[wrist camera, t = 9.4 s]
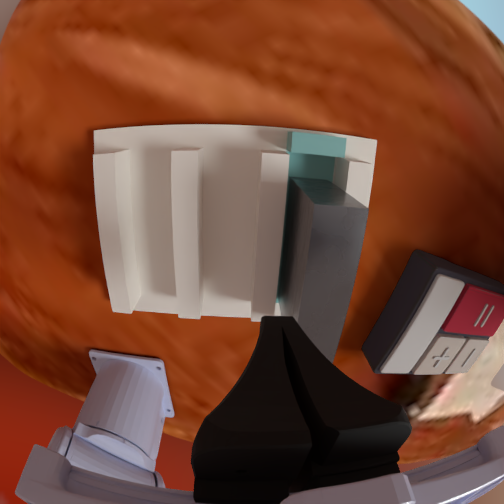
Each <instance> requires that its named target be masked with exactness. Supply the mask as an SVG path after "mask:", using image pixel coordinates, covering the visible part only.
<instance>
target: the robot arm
mask: <svg viewBox="0 0 504 504" xmlns="http://www.w3.org/2000/svg"><path fill="white" fill-rule="evenodd" d="M89 356H90V359H91V361H92V364H93V367H94V369H95V372H96V374H97V376H96V378H95V380H94V382H93V384H92V387H91V389H90V391H89V393H88V395H87V397H86V400H85V402H84V404H83V407H82V409H81V411H80V413H79V416H78V418H77V420H76V423H75V425H74V427H73V428H72V429H71V428H69V427H68V426H64V427H61V428H58V429H57V430H56V432H55V434H54V435H53V437H52V439H51V441H50V443H49V445H48V447H47V448H45V447H42V446H40V445H37V444H35V445H34V446H33V449H32V451H31V453H30V456H29V458H28V460H27V463H26V465H25V468H24V470H23V473H22V475H21V478H20V480H19V483H18V485H17V488H16V491H15V493H16V495H17V496H19V497H20V498H21V499H22V500H24V501H25V502H27V503H28V504H468V503H470V502H471V501H473V500H475V499H476V498H478V497H480V496H482V495H483V494H485V493H487V492H488V491H490V490H491V489H492V488H494V487H495V486H497V484H499V483H500V482H502V481H503V480H504V426H500V427H498V428H496V429H494V430H493V431H490V432H489V433H487V434H486V435H485V436H483V437H482V438H481V439H480V440H479V442H478V443H477V445H475V446H472V447H470V448H468V449H466V450H463V451H461V452H459V453H456V454H454V455H452V456H449V457H447V458H444V459H441V460H439V461H436V462H433V463H430V464H428V465H425V466H422V467H419V468H416V469H413V470H410V471H406V472H403V473H400V470H399V467H398V464H397V462H398V461H399V455H398V452H397V451H398V450H399V448H400V447H401V446H402V445H403V443H404V442H405V441H406V440H407V438H408V437H409V435H410V433H411V430H412V427H411V424H410V422H409V420H408V417H407V415H406V413H405V411H404V410H403V408H402V406H400V405H398V404H396V403H393V402H391V401H389V400H386V399H384V398H382V397H380V396H378V395H376V394H374V393H372V392H371V391H369V390H367V389H366V388H364V387H362V386H361V385H359V384H358V383H356V382H355V381H353V380H352V379H350V378H349V377H348V376H346V375H345V374H344V373H343V372H341V371H340V370H339V369H338V368H337V367H336V366H334V365H333V364H332V363H331V362H330V361H329V360H328V359H327V358H326V357H325V356H324V355H323V354H322V353H321V352H320V350H319V349H318V348H317V347H316V346H315V345H314V343H313V342H312V341H311V340H310V339H309V337H308V336H307V335H306V333H305V332H304V331H303V329H302V328H301V327H300V325H299V324H298V323H297V321H296V320H295V318H294V317H293V316H263V317H262V318H261V324H260V334H259V338H258V341H257V344H256V347H255V349H254V352H253V354H252V356H251V358H250V361H249V363H248V365H247V366H246V368H245V370H244V372H243V373H242V375H241V377H240V378H239V380H238V381H237V383H236V384H235V386H234V387H233V388H232V390H231V391H230V392H229V393H228V394H227V396H226V397H225V398H224V399H223V400H222V402H221V403H220V404H219V405H218V406H217V407H216V408H215V409H214V410H213V411H212V412H211V413H210V414H209V415H208V416H206V417H205V419H204V421H203V423H202V425H201V427H200V428H199V431H198V433H197V435H196V437H195V440H194V443H193V447H192V455H191V464H192V468H193V472H194V476H195V481H194V492H193V491H182V490H175V489H168V488H165V485H164V482H163V479H162V476H161V475H160V474H159V473H158V472H156V471H154V469H155V464H156V461H155V459H156V457H157V455H158V450H159V444H160V440H161V435H162V430H163V425H164V420H165V417H174V410H173V405H172V401H171V397H170V392H169V387H168V382H167V377H166V372H165V367H164V363H163V361H162V360H161V359H156V358H147V357H139V356H132V355H124V354H118V353H111V352H105V351H99V350H90V351H89Z"/></svg>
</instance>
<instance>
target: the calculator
mask: <svg viewBox="0 0 504 504" xmlns="http://www.w3.org/2000/svg"><path fill="white" fill-rule="evenodd" d="M503 319H504V285H503V284H502V283H500V282H499V281H496V280H494V279H492V278H489V277H487V276H484V275H482V274H479V273H477V272H474V271H472V270H469V269H466V268H464V267H461V266H458V265H456V264H453V263H451V262H449V261H447V260H445V259H442V258H440V257H437V256H434V255H432V254H429V253H426V252H424V251H421V250H415V251H414V252H413V253H412V255H411V257H410V259H409V261H408V263H407V265H406V268H405V270H404V272H403V274H402V276H401V278H400V280H399V282H398V284H397V286H396V287H395V289H394V291H393V293H392V295H391V297H390V299H389V301H388V303H387V304H386V306H385V308H384V310H383V312H382V313H381V315H380V317H379V319H378V320H377V322H376V324H375V326H374V327H373V329H372V331H371V332H370V334H369V336H368V337H367V339H366V341H365V342H364V344H363V346H362V350H363V352H364V354H365V356H366V358H367V360H368V362H369V364H370V366H371V368H372V370H373V372H374V373H379V374H415V375H423V374H441V373H445V374H454V373H466V372H468V371H469V369H470V368H471V367H472V365H473V364H474V363H475V361H476V360H477V359H478V357H479V356H480V354H481V353H482V352H483V350H484V349H485V347H486V346H487V344H488V343H489V340H488V339H489V337H490V336H493V335H494V334H495V332H496V331H497V329H498V327H499V326H500V324H501V323H502V321H503Z"/></svg>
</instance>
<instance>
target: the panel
mask: <svg viewBox="0 0 504 504" xmlns="http://www.w3.org/2000/svg"><path fill="white" fill-rule="evenodd" d="M368 211H369V209H368V208H367V207H366V206H364V205H363V204H362V203H360V202H359V201H357V200H356V199H355V198H353V197H352V196H351V195H349V194H348V193H346V192H345V191H343V190H342V189H341V188H339V187H338V186H336V185H335V184H333V183H332V182H330V181H329V180H325V179H315V178H303V177H290V184H289V195H288V206H287V217H286V228H285V238H284V248H283V257H282V267H281V276H280V285H279V294H278V301H279V307H280V312H281V316H293V317H294V318H295V320H296V321H297V323H298V324H299V325H300V327H301V328H302V329H303V331H304V332H305V333H306V335H307V336H308V337H309V339H310V340H311V341H312V342H313V343H314V345H315V346H316V347H317V348H318V349H319V350H320V352H321V353H322V354H323V355H324V356H325V357H326V358H327V359H328V360H329V361H330V362H331V363H333V360H334V357H335V353H336V350H337V347H338V343H339V340H340V336H341V333H342V329H343V325H344V322H345V318H346V314H347V310H348V306H349V302H350V298H351V294H352V290H353V286H354V282H355V277H356V273H357V268H358V264H359V259H360V254H361V249H362V244H363V239H364V234H365V228H366V223H367V217H368Z"/></svg>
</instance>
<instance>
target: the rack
mask: <svg viewBox="0 0 504 504" xmlns="http://www.w3.org/2000/svg"><path fill="white" fill-rule="evenodd" d="M376 145H377V140H373V139H367V138H362V137H355V136H349V135H342V134H335V133H328V132H320V131H311V130H302V129H292V128H280V127H267V126H250V125H221V124H181V125H153V126H136V127H123V128H112V129H102V130H94V154H93V170H94V187H95V200H96V211H97V220H98V229H99V237H100V244H101V251H102V258H103V264H104V270H105V275H106V281H107V286H108V291H109V296H110V301H111V306H112V310H113V312H120V313H130V314H131V313H132V311H133V310H137V311H148V312H160V313H173V314H178V317H179V318H191V319H200V317H201V315H204V316H224V317H250V318H251V321H258V322H261V318H262V317H263V316H281V312H280V307H279V301H278V294H279V285H280V276H281V267H282V257H283V248H284V238H285V228H286V217H287V206H288V195H289V184H290V177H303V178H315V179H325V180H329V181H330V182H332V183H333V184H335V185H336V186H338V187H339V188H341V189H342V190H343V191H345V192H346V193H348V194H349V195H351V196H352V197H353V198H355V199H356V200H357V201H359V202H360V203H362V204H363V205H364V206H366V207H367V208H368V206H369V199H370V193H371V186H372V179H373V171H374V163H375V154H376Z"/></svg>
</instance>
